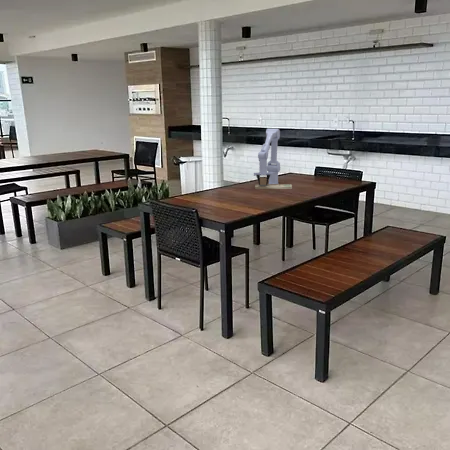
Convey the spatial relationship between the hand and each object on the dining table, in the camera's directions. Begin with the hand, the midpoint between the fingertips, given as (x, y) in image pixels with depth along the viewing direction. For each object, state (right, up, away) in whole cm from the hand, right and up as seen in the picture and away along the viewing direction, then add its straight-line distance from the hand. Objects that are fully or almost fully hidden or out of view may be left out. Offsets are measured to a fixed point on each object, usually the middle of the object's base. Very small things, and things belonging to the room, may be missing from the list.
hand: (263, 184), depth 368 cm
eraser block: (0, 0, 0) cm, 0 cm away
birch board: (+8, -2, 0) cm, 8 cm away
